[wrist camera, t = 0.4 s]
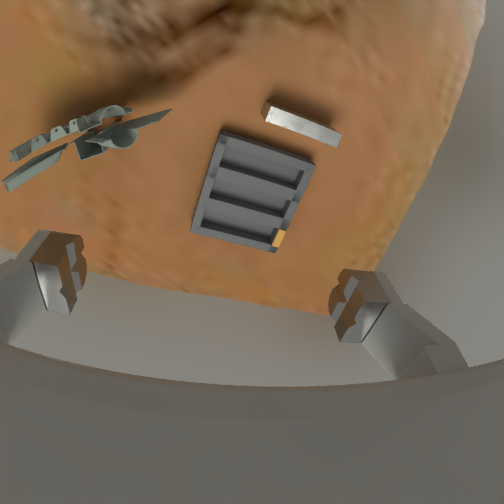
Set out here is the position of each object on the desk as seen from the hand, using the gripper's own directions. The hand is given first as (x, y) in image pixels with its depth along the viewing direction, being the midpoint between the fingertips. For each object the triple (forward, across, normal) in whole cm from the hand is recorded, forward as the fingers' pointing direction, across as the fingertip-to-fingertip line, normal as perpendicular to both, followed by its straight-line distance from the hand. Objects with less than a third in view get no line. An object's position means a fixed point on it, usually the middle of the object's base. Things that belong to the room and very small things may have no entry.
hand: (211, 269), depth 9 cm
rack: (+44, -8, +16) cm, 48 cm away
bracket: (+45, +20, +7) cm, 50 cm away
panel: (+44, -13, +1) cm, 46 cm away
